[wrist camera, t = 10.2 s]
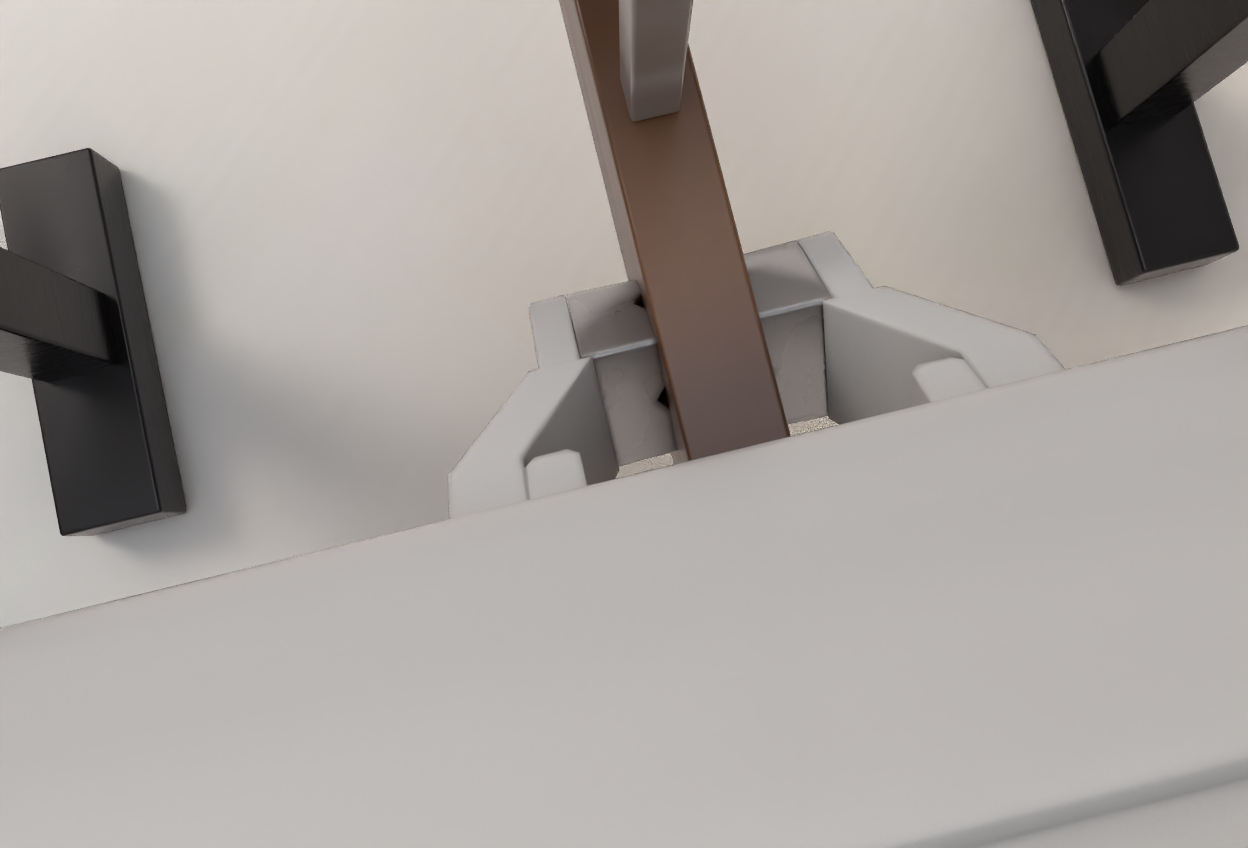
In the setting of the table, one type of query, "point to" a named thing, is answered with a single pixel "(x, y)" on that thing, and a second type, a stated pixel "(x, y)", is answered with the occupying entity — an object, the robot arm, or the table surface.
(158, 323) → the table surface
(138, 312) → the rail
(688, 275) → the hanger
